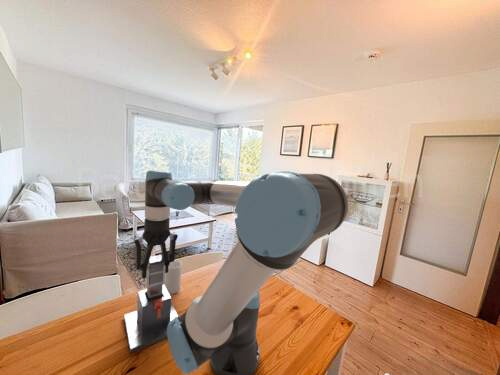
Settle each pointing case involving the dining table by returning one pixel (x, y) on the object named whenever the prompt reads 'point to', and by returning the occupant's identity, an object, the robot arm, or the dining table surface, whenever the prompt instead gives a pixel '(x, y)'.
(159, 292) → the column
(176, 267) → the mug
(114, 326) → the dining table surface
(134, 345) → the sleeve
